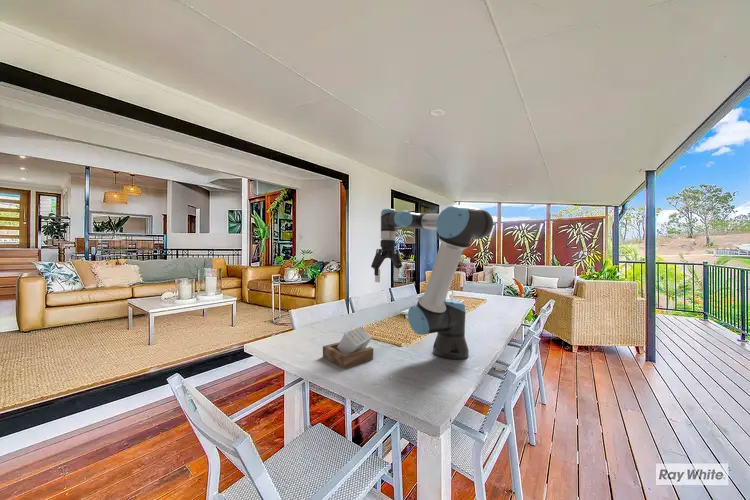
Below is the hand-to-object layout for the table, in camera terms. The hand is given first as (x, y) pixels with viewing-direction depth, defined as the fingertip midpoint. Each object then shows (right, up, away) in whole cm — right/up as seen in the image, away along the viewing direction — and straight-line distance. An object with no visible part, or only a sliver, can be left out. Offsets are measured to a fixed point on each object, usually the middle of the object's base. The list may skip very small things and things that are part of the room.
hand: (387, 281), depth 148 cm
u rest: (-17, -28, -29) cm, 44 cm away
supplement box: (-11, -22, -21) cm, 33 cm away
